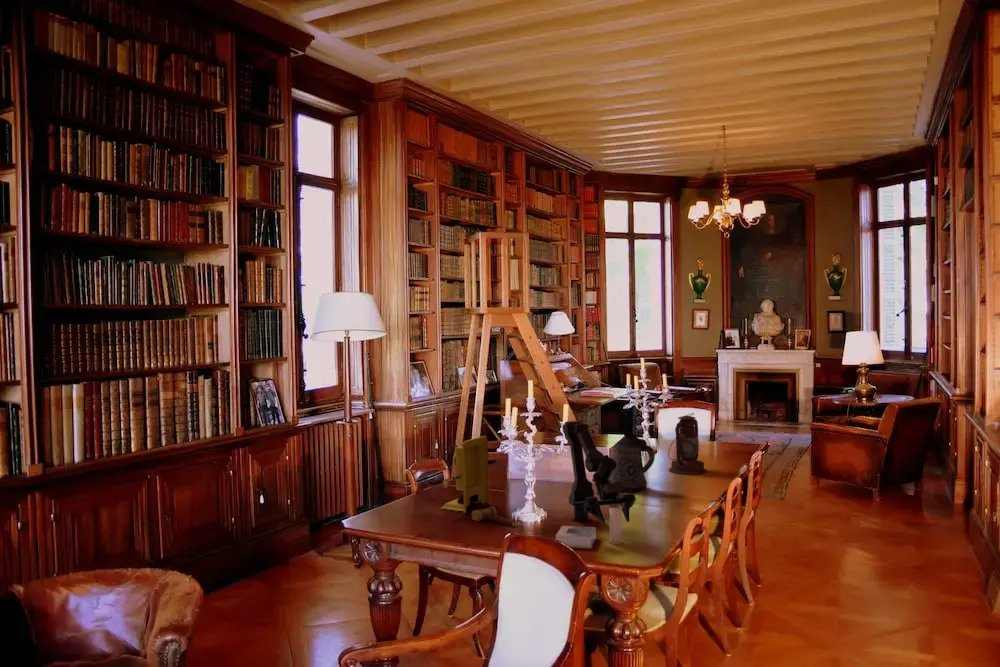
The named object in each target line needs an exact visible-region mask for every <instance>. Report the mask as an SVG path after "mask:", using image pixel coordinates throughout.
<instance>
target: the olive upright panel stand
mask: <svg viewBox="0 0 1000 667" xmlns="http://www.w3.org/2000/svg"><path fill="white" fill-rule="evenodd" d="M454 451H455V454H454V455H453V458H452V462H453V465H454V466H455V476H453V477H450V478H448V479H444V480H442V481H443V484H446V483H448V482H450V481H451V482H452V481H453V480H455V490H456V491H463V493H462V494H461V495H460V496H459V497H458V498H456V499H453V500H451V501H448V502H446V503H444V504H443V506H441V507H440V510H443V509H446V510H445V511H450V510H454V511H453V512H458V511H463V512H462V513H463V514H464V513H466V514H467V507H468V506H470V504H471V503H470V502H478V503H489V504H490V501H489V500H490V499H489V498H490V497H489V496H490V495H489V494H490V492H489V467H490V469H492V467H491V465H490V466H489V463H490V462H491V461H490V460H491V459H489V458H490V455H489V448H488V436H487V435H482V436H479V437H478V436H477V437H474V438H471V439H468V440H467V439H466V440H464V441H463V442H462V445H461V446H457V447H455V448H454ZM491 474H493V472H492V471H491ZM493 482H494V480H492V481H491V483H490V484H492V483H493Z"/></svg>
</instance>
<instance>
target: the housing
mask: <svg viewBox="0 0 1000 667" xmlns="http://www.w3.org/2000/svg"><path fill="white" fill-rule="evenodd" d="M596 539H597V530H596V526H595V527H593V526H575V525H561V526H560V529H559V530H558V531H557V533H556V534H555V541H556V540H559V541H561V542H563V543H565V544H567V545H568V546H570V547H569V548H577V549H592V547H593V545H594V544H595V541H596Z"/></svg>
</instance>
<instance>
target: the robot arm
mask: <svg viewBox="0 0 1000 667" xmlns="http://www.w3.org/2000/svg"><path fill="white" fill-rule="evenodd" d="M561 427H562V432H563V435H564V439H565V440H566V441H567V442H568V444H569V448H570V456H571V461H572V471H573V477H574V481H573V483H572V485H571V492H570V493H569V496H568V502H569V504H570V505H571V506H573V517H572V518H571V520H572V521H576V522H578V521H579V522H580V521H581V522H589V521H590V519H591V515H592V516H593V517H595V518H596V519H597V520H598V521H599V522H600V523H601V524H602V525H603V526H604V525H605V524H606V522H605V518H604V515H603V512H602V510H601V506H612V505H614V506H615V505H620V507H621V508H622V515H623V517H624V519H625V520H626V523H629V522H630V509H631V508H632V507H633V506H634V504H635V502H636V500H637V498H636V495H635V493H623V494H622V496H621V497H620V498H619V497H618V496H619V493H621V492H620V490H623V489H624V484H623V481H618V482H616V483H611V479H610V478H612V477H613V474H614V470H615V468H616V465H617V464H616V460H615V459H613V458H611V457H610V456H609V455H608V454H605V455H604V454H603V452H601V451H599V449H598V448H597V447H596V444H595V441H594V439H593V437H592V435H591V433H590V430H589V429H590V427H589V424H588V423H587V422H585V423H583V422H582V420H573V421H572V420H571V421H569V420H568V421H565V422H564V424H562V426H561ZM584 454H585V458H584ZM586 471H588V472H587V473H594V474H592V481H591V480H589V479H588V478H587V473H586ZM593 483H594V484H595V487H596V495H597V496H598V497H599V499H598V497H597V496H595V490H594V488H593ZM617 497H618V498H617ZM589 514H591V515H589Z"/></svg>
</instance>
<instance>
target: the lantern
mask: <svg viewBox="0 0 1000 667" xmlns="http://www.w3.org/2000/svg"><path fill="white" fill-rule="evenodd" d="M693 415H695V413H694V412H692V413H689V414H687V415H682V416H679V417H677V419H679V421H678V422H677V423H676V426H675V429H674V432H675V438H674V440H673V441H672V442H671V443H670V446H669V448H668V452H667V456H668V457H667V458H669V460H671V463H670V464H671V466H670V468H669V469H668V472H669V473H670V474H675V475H681V476H697V475H698V476H699V475H704V474H706V473H708V470H707V469H706V468H705V462H704V461H701V460H699V451H701V449H700V448H699V447H700V445H701V444H700V443H701V442H700V439H699V424H698V423H699V422H698V420H697V418H696V417H695V416H693ZM674 443H675V448H674V449H675V450H674V452H675V454H676V458H674V459H671V458H670V450H671V447H672V446H673V444H674Z"/></svg>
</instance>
